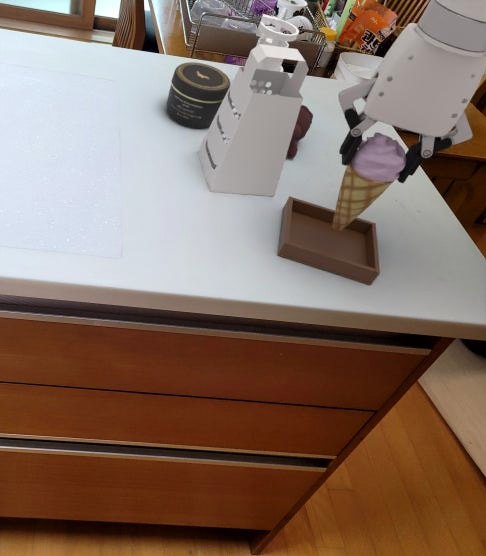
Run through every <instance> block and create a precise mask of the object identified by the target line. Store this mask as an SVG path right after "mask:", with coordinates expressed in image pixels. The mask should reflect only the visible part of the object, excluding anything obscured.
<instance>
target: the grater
mask: <svg viewBox="0 0 486 556" xmlns="http://www.w3.org/2000/svg"><path fill="white" fill-rule="evenodd" d="M266 57H274V58H282V59H283V60H290V61H297V62H296V66H295V68H294V70H293V73H292V75H291V77H290V75H289V73H288V72H287V71H286V72H285V71H283V72H278V71H270V70H262V69H256V67H257V64H258V63H259V62H260V61H262V60H263V59H264V58H266ZM247 59H248V60H247ZM247 59H246V61H247V63H246V62H245V64H246V66H245V65H244V66H239V67H238V70H237V71H236V73H235V76H234V77H233V79H232V81H231V82H230V87H229V89H228V91H227V93H226V95H225V97H224V99H223V101H222V103H221V105H220V107H219V109H218V111H217V113H216V115H215V117H214V119H213V121H212V123H211V125H210V126H209V127H208V129H207V131H206V133H205V136H204V137H203V139H202V141H201V143H200V146H199V148H198V150H197V155H198V158H199V161H200V164H201V168H202V170H203V173H204V176H205V180H206V183H207V185H208V188H209V192H213V193H225V194H237V195H251V196H263V197H275V196H276V192H277V189H278V186H279V183H280V179H281V175H282V171H283V168H284V165H285V161H286V158H287V156H288V155H287V152H288V148H289V145H290V141H291V138H292V135H293V131H294V128H295V124H296V121H297V118H298V114H299V111H300V107H301V105H303V101H304V97H303V96H302V94H301V93H300V90H301V88H302V87H303V84H304V81H305V80H306V77H307V74H308V72H309V70H310V69H309V66H308V63H307V61H306V60H305V58H304V57H303V55H302V54H301V53H300V51H299V49H297V48H293V47H288V48H285V47H278V46H270V45H263V44H259V45H258V46H255V47H253V48H251V50H250V52H249V55H248V57H247ZM253 80H255V81H256V82H257V83H256V85H251V82H252V81H253ZM260 81H263V82H264V85H263V86H259V85H258V83H259V82H260ZM266 83H267V84H268V83H270V86H267V84H266ZM265 85H266V86H265ZM255 88H256V89H257V90H258V91H257V93H253V92H252V90H253V89H255ZM262 89H264V92H263V94H260V93H259V91H260V90H262ZM269 91H271V93H270V94H267V92H269ZM234 109H235V111H236V112H234V111H233V110H234ZM236 116H238V117H237V118H236ZM223 135H224V137H223ZM225 140H228V141H227V142H225ZM209 154H210V157H211V159H212V162H213V164H214V165H216V166H215V168H213V166H212V163H211V160H210V158H209Z"/></svg>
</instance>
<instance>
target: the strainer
mask: <svg viewBox="0 0 486 556" xmlns="http://www.w3.org/2000/svg"><path fill="white" fill-rule="evenodd" d="M270 25H272V26H274V28H273V29H271V28H269V27H268V26H270ZM282 29H284V30H287V31H288V32H290V33H284V32H281V30H282ZM299 33H300V30H299V28H298V27H297V26H295V24H293V23H291V22H289V21H287V20H283V19H280V18H278V17H277V16H274V15H273V16H272V15H268V14H265V13H262V16H261V19H260V21H259V25H258V27H257V30H256V33H255V36H256V37H259V38H258V40H257V43H256V46H258V45H259V44H263V45H270V46H278V47H285V48H290V47H289V46H290V44H289V42H295V41H296V40H297V37H298V35H299ZM256 46H255V47H256ZM247 60H248V58H247V59H246V62H245V64H244V67H245V66H246V63H247ZM283 61H284V59H282V58H274V57H266V58H264V59H263V60H262V61H260V62H259V63H258V64H257V67H256V69H262V70H270V71H278V72H284V68H283V66H282V64H283ZM256 83H257V82H256V81H255V80H253V81H252V82H251V85H256ZM267 84H268V82H267V83H266V85H265V86H266V87H267ZM258 85H259V86H263V85H264V82H263V81H260V82H259V83H258ZM257 91H258V90H257V89H256V88H255V89H253V90H252V92H253V93H257ZM259 93H260V94H264V93H265V90H264V89H262V90H260V91H259Z"/></svg>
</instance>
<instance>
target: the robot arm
mask: <svg viewBox="0 0 486 556" xmlns="http://www.w3.org/2000/svg"><path fill="white" fill-rule="evenodd" d="M485 73H486V0H430V1H429V2H428V4H427V6H426V8H425V9H424V11H423V13H422V15H421V17H420V18H419V20H418V22H417V23H415V22H410V23H408V24H407V25H406V26H405V27H404V29H403V30H402V32H400V34H399V35H398V36H397V38H396V39H395V41H394V42H393V43H392V45H391V46H390V48H389V49H388V50H387V52H386V53H385V55H384V56H383V58H382V59H381V61H380V63H379V64H378V66H377V68H376V69H375V71H374V72H373V74H372V76H371V77H370V79H368V80H365V81H362V82H360V83H358V84H355V85H352V86H351V87H348V88H345V89H343V90H341V91H339V92H338V102H339V105H340V107H341V110H342V112H343V116H344V119H345V122H346V123H347V126H348V128H349V131H348V133H347V134H346V136H345V138H344V139H343V141H342V144H341V145H340V147H339V151H338V152H339V155H341V165H342V166H346V167H347V165H349V163H350V161H351V160H352V158H353V156H354V154H355V153H356V151H357V150H358V148H359V146H360V144H361V142H362V140H363V134H364V133H365V132H366V131H367V130H369V129H370V128H371V127H372V126H374V125H375V124H377V123H378V122H380V123H382V124H386V125H389V126H392V127H396V128H399V129H403V130H406V131H410V132H412V133H417V134H419V138H418V142H416V143H413V144H411V145H410V146H409V148H408V149H407V151H406V152H405V155H406V165H405V167H404V169H403V170H402V171H400V176H399V178H398V179H397V182H398V183H399V184H400V183H401V184H404V183H405V182H406V181H407V179H408V177H409V176H411V177H412V176H414V174H415V173H416V171H417V170H418V169H419V167H420V166H421V164H422V163H423V161H424V160H425V159H428V158H430V157H432V156H433V154H434V153H438V152H439V153H440V152H441V151H444V150H447V149H449V148H451V147H452V146H454V145H458V144H460V143H464V142H466V141H469V140H471V139H472V138H473V136H474V135H473V131H472V129H471V125H470V123H469V121H468V118H467V115H466V112H465V110H466V108H468V106H469V103H470V101H472V99H473V96H474V95H475V94H476V91H477V89H478V87H479V85H480V83H481V81H482V79H483V77H484V75H485ZM359 99H362V100H363V101H364V102H365V104H364V106H363V109H362V110H361V111H360V112H358V110H357V108H356V106H355V104H354V102H355V101H356V100H359ZM454 127H455V128H454ZM453 128H454V129H453ZM452 129H453V130H452Z"/></svg>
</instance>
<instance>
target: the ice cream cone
mask: <svg viewBox="0 0 486 556" xmlns="http://www.w3.org/2000/svg"><path fill="white" fill-rule="evenodd" d="M405 154H406V151H405V149H404V147H403V146H402V145H401V144H400V143H399V141H398V140H397V139H393V138H392V137H390V136H388V135H386V134H383V133H382V132H374V133H373V136H367V137H366V140H364V139H362V142H361V144H360V146H359V148H358V149H357V151H356V153H355V154H354V156H353V158H352V160H351V161H350V163H349V165H347V166H346V167H345V171H344V174H343V177H342V180H341V183H340V188H339V191H338V196H337V200H336V205H335V208H334V209H335V214H334V219H333V224H332V228H333V229H334V230H336V231H341V230H342V229H344V228H345V227H346V226H347V225H348V224H349V223H351V222H352V221H353V220H354V219H355V218H356V217H357V218H359V216H360V215H361V214H362V213H364V212H365V211H366V210H368V208H369V207H370V206H371V205H372V204H373V203H374V202H375V201H377V199H379V198H380V197H381V196H382V195H383V193H384V192H385V191H387V189H389V187H390V186H391V185H392V184H393V183H394V182H395V181H396V180H397V179H398V178H399V176H400V171H402V170H403V169H404V167H405V165H406V155H405ZM397 181H398V180H397Z"/></svg>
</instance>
